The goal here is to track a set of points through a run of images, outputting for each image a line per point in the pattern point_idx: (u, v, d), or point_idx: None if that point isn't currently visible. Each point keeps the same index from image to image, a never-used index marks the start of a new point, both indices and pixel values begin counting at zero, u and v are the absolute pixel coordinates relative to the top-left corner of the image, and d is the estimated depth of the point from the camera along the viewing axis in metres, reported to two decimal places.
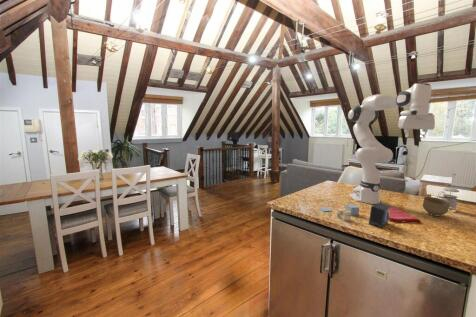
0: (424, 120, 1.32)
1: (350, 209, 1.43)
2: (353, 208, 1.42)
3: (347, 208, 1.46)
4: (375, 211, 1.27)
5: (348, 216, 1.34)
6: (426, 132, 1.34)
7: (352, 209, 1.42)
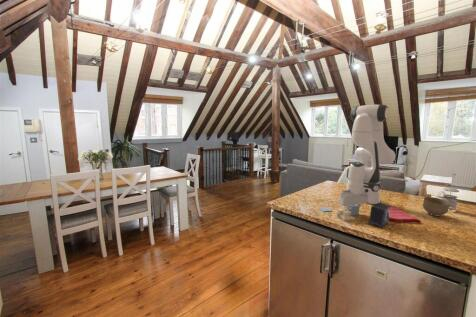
0: None
1: (350, 209, 1.43)
2: (353, 207, 1.42)
3: None
4: (375, 211, 1.27)
5: (348, 216, 1.34)
6: (345, 206, 1.44)
7: (353, 209, 1.42)
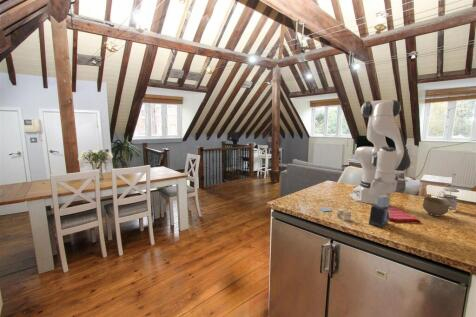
0: None
1: (381, 201, 1.27)
2: (384, 199, 1.26)
3: None
4: (375, 211, 1.27)
5: (348, 216, 1.34)
6: (373, 197, 1.27)
7: (384, 200, 1.26)
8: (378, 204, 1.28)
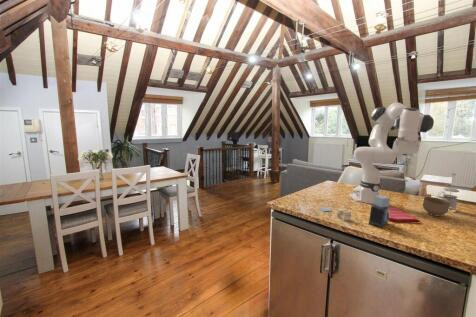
0: None
1: (381, 200, 1.27)
2: (384, 199, 1.26)
3: (376, 200, 1.30)
4: (375, 211, 1.27)
5: (348, 216, 1.34)
6: (396, 156, 1.32)
7: (383, 200, 1.26)
8: (378, 204, 1.28)
